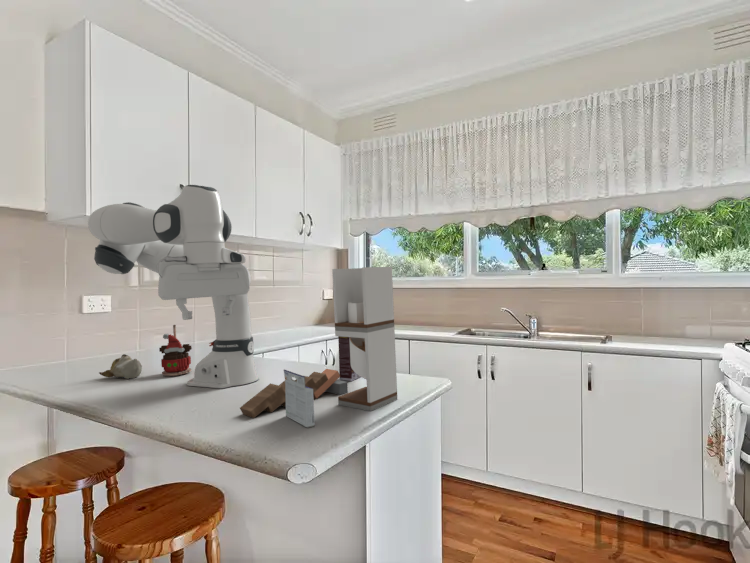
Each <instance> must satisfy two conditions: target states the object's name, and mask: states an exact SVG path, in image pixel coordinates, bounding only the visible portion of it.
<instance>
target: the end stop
mask: <svg viewBox="0 0 750 563" xmlns="http://www.w3.org/2000/svg"><path fill="white" fill-rule="evenodd" d="M348 388H349V387H348V381H343V380H340V379H337V380H336V381H335V382H334V383H333V384H332V385H331V386H330V387H329V388H328V389H327V390H325V391H324V393H325V392H326V393H330V394H335V395H339V396H342V395H344V394H347V393H349V391H348Z"/></svg>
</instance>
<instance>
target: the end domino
mask: <svg viewBox="0 0 750 563" xmlns="http://www.w3.org/2000/svg"><path fill="white" fill-rule="evenodd" d="M321 373H324V374H326V376H327V378H328V380H327V381H326V382H325V383H324V384H323V385H322V386H321V387H320V388H319V389H318V390H317V391H316V392H314V393H313V398H314V399H316V400H317V399H318V398H319V397H321V395H323V394H324V393H325V390H327V389H328V388H329V387H330V386H331V385H332V384H333V383H334V382H335V381H336V380H339V379H340V375H339V370H334V369H329V368H325V369H324V370H323V371H322V372H321Z"/></svg>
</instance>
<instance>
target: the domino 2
mask: <svg viewBox="0 0 750 563" xmlns="http://www.w3.org/2000/svg"><path fill="white" fill-rule="evenodd" d="M278 385H279V386H282V388H283V390H284V392H285V380H284V381H282V382H281V383H280V384H278ZM285 401H286V393H284V394H282V395H281V396H280V397H279V398H278V399H276V400H275V401H274V402H273V403H272V404H270V405H269V406H268V407H267V408H266V409H264V410H263V412H264V411H265V412H268V413H271V414H272V413H273V412H274V411H275V410H277V409H278V408H279V407H280V406H281V404H282V403H284V402H285Z"/></svg>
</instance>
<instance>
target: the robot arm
mask: <svg viewBox="0 0 750 563" xmlns="http://www.w3.org/2000/svg"><path fill="white" fill-rule="evenodd" d="M87 226H88V229H89V232H90V234H92V236H94V237H95V238H96V239H98V240H99V242H98V245H97V246H96V247H95V248H94V258H93V259H94V261H95V264H96V265H97V266H98V267H99V268H101V269H102V270H103V271H105V272H106V273H110V274H114V275H125V274H128V273H130V272H131V271H132V269H134V267H135V265H136V264H135V263H138V264H139V265H140V266H142V267H144V268H146V269H148V270H149V271H152V272H154V273H155V274H158V277H159V278H158V287H157V288H158V290H157V291H158V293H157V294H158V297H159V298H160V299H161V300H163V301H168V300H169V301H172V300H175V303H176V306H177V307H178V310H180V311H181V313H182V314H181V318H182V320H183V321H186V320H187V321H188V320H192V319H193V311H192V310H188V308H187V307H186V305H187V303H188V302H187V301H188V299H200V298H211V300H212V306H213V310H214V319H215V336H216V339H214V340H213V341H212V342H208V344H209V345H208V346H209V347H212V348H211V351H210V352H208V354H207V355H206V356H205V357H203V358H202V359H201V360H200V361H199V362H198V363H196V366H195V367H194V375H193V376H194V377H193V378H191V379H189V380H188V381H187V382H186V385H187V386H190V387H202V388H212V389H224V388H229V387H235V386H242V385H248V384H250V383H253V382H256V381H258V380H259V379H260V378H259V375H258V372H257V368H256V364H255V359H254V350H255V348H254V337H253V336H252V320H251V319H252V318H251V317H252V316H251V308H250V304H249V296H248V293H249V291H250V286H251V282H252V276H251V272H250V270H248V268H247V266H246V265H245V263H246V259H247V258H246V255H245V254H244V253H241V252H238V251H235V250H233V249H230V248H227V247H226V246H225V243H226V242H227V240H228V239H229V238H230V236H231V233H232V228H233V227H232V222H231V220H230V218H229V215H228V214H227V213H226V212H225V211H224V208H223V202H222V197H221V195H220V193H219V190H217V189H216V188H214V187H211V186H205V185H198V184H187V185H185V186H183V187H182V189H181V191H180V194H179V195H178V196H177V197H176V198H175V199H174V200H172V201H170V202H168V203H164V204H162V205H161V206H160V207H159V208H157V209H156V210H154V209H152V208H147V207H145V206H142V205H141V204H139V203H136V202H135V203H134V202H130V201H129V202H128V201H127V202H123V203H113V204H107V205H105V206H101V207H99V208H97V209H95V210H94V211H92V212H91V214H90V215H89V217H88V221H87Z"/></svg>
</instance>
